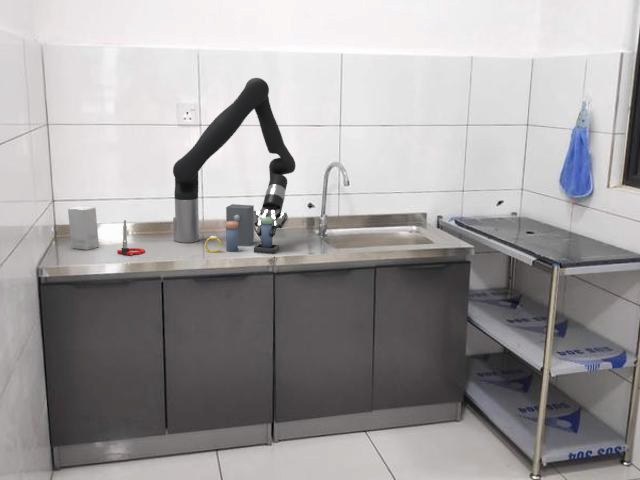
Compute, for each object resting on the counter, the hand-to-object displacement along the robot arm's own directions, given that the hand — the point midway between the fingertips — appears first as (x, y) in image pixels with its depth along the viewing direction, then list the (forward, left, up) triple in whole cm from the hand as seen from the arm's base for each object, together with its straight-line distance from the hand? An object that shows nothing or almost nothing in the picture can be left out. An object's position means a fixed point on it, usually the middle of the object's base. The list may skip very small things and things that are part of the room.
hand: (265, 235), depth 249 cm
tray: (0, +2, -7) cm, 7 cm away
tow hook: (-47, -15, -7) cm, 50 cm away
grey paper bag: (-68, -13, -7) cm, 69 cm away
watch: (-19, -5, -7) cm, 21 cm away
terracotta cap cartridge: (-13, -1, -7) cm, 15 cm away
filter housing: (-14, +12, -7) cm, 20 cm away
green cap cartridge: (0, +2, -5) cm, 5 cm away
